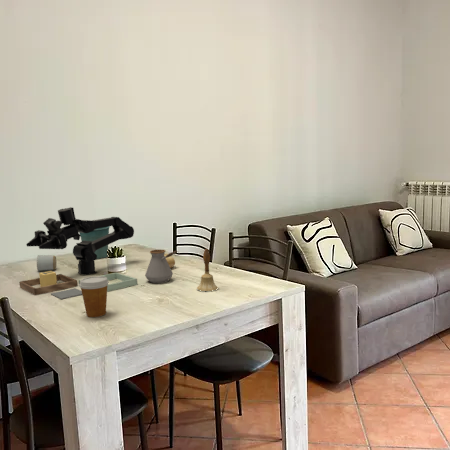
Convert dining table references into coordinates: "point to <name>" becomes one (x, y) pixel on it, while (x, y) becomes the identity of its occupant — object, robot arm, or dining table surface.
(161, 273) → the coffee pot
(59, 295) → the rubber mat
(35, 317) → the dining table surface
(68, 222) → the robot arm
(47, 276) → the letter block
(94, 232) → the flower pot
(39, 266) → the grey cylinder
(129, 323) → the dining table surface
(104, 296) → the disposable coffee cup
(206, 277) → the hand bell
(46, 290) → the walnut tray
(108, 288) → the sage tray
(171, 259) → the onion
